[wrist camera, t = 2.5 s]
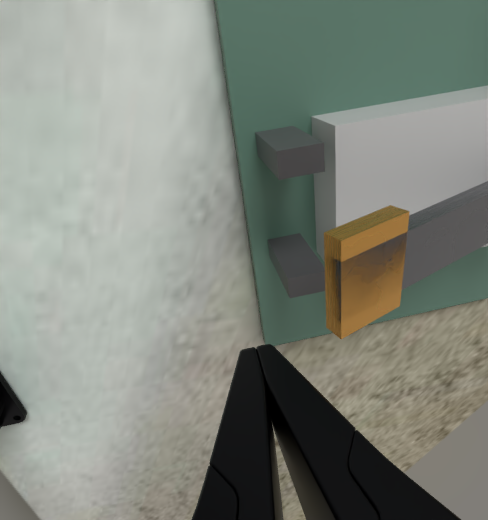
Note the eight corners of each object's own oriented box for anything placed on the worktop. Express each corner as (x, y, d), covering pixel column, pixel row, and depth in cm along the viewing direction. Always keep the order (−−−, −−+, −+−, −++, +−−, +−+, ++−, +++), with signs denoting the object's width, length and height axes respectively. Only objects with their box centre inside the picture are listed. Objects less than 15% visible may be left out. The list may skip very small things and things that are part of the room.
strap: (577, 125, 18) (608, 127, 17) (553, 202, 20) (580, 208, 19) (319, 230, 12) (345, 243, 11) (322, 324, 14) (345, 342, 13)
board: (488, 288, 28) (567, 345, 22) (263, 338, 26) (286, 412, 21) (584, -94, 17) (788, -172, 11) (208, -42, 16) (226, -101, 10)
